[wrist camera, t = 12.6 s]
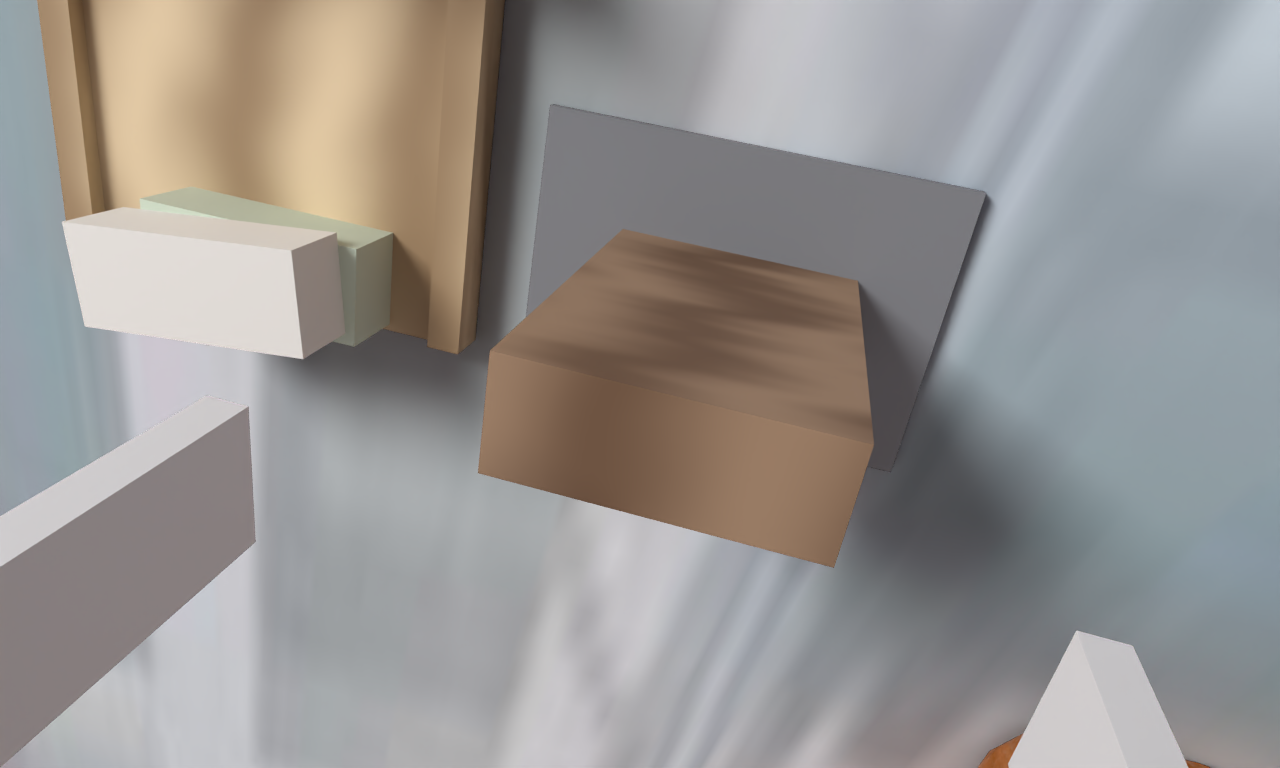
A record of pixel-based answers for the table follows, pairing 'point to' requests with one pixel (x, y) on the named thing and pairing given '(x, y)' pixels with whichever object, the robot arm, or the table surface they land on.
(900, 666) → the table surface
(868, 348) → the rubber mat
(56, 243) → the table surface
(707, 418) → the walnut board
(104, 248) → the offcut upper
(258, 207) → the offcut lower
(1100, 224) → the table surface
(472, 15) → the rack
